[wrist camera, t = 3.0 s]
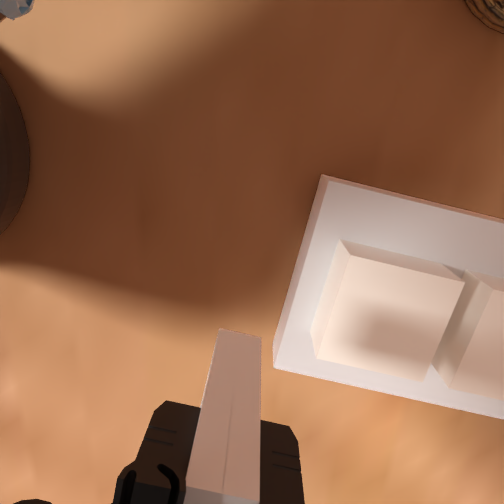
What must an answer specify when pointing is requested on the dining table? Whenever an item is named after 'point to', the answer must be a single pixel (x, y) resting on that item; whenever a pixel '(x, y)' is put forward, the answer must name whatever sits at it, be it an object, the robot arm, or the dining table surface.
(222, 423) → the robot arm
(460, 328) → the tile
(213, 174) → the dining table surface
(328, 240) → the board
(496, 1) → the wooden mug
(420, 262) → the tile
